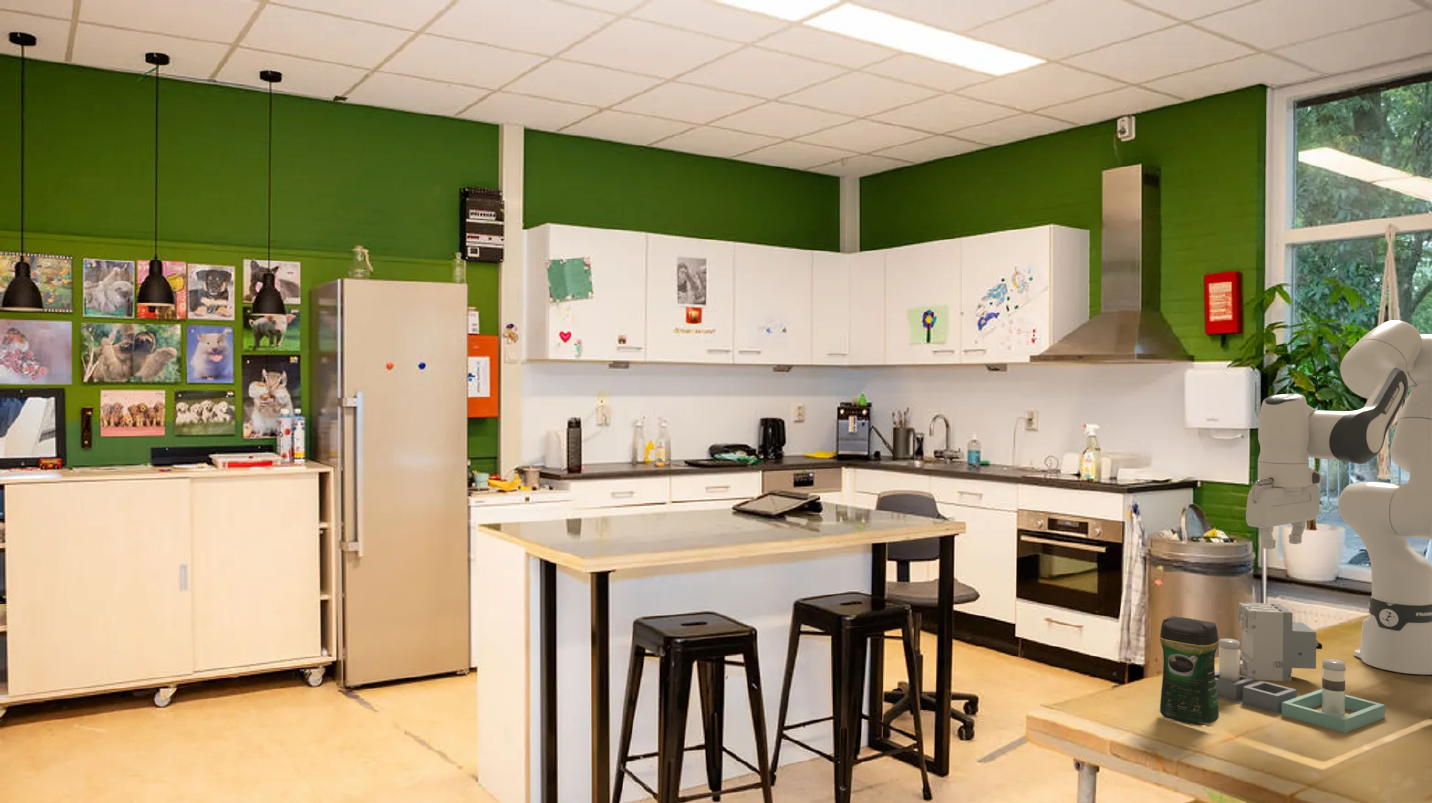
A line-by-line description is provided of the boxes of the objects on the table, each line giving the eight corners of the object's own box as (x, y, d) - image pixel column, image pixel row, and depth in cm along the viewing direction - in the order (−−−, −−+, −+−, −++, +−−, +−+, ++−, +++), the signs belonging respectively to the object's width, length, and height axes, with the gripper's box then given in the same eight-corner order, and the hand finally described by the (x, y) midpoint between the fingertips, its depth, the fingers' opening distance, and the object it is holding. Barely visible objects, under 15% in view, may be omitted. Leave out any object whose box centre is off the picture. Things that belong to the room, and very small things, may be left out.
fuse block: (1225, 688, 206) (1225, 669, 206) (1301, 709, 193) (1301, 689, 193) (1198, 697, 201) (1198, 677, 201) (1274, 719, 188) (1274, 697, 188)
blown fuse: (1328, 712, 189) (1328, 657, 189) (1348, 718, 186) (1349, 662, 186) (1317, 716, 187) (1318, 661, 187) (1338, 721, 184) (1339, 665, 184)
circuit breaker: (1324, 687, 206) (1325, 613, 205) (1247, 684, 209) (1248, 611, 208) (1311, 676, 213) (1312, 605, 213) (1237, 673, 216) (1237, 602, 216)
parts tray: (1322, 705, 195) (1322, 688, 195) (1384, 722, 186) (1384, 704, 186) (1281, 720, 188) (1281, 702, 188) (1344, 738, 178) (1345, 720, 178)
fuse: (1225, 688, 203) (1226, 637, 203) (1243, 693, 200) (1243, 641, 199) (1214, 691, 201) (1215, 640, 201) (1232, 696, 198) (1233, 644, 198)
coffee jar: (1224, 719, 189) (1225, 619, 188) (1207, 730, 183) (1208, 627, 182) (1171, 707, 196) (1171, 610, 195) (1153, 717, 190) (1154, 618, 189)
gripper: (1269, 481, 194) (1268, 554, 195) (1326, 474, 205) (1325, 543, 205) (1237, 478, 199) (1236, 549, 200) (1294, 471, 210) (1293, 538, 211)
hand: (1282, 546), depth 203 cm, fingers open, 8 cm apart
